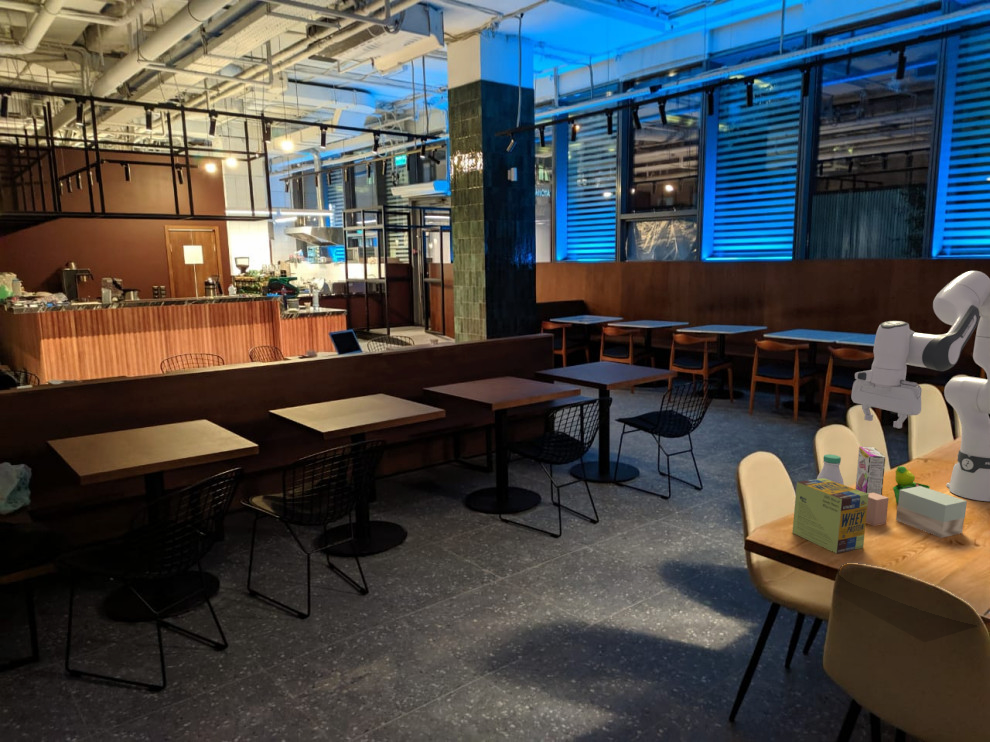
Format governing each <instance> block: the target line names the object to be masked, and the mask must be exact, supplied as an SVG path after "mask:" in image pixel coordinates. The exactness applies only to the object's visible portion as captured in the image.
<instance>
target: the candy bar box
mask: <svg viewBox="0 0 990 742" xmlns="http://www.w3.org/2000/svg"><path fill="white" fill-rule="evenodd" d="M857 458H858V459H857V468H856V469H857V470H856V481H855V489H856V490H859V491H862V492H865V493H873V492H874V493H877V494H879V495H882V496H883V486H884V478H885V477H884V474H885V467H886V465H885V464H886V456H885V455H883V454H882V453H881V452H880V451H879V450H878V449H877V448H876V447H873V446H859V448H858V456H857Z"/></svg>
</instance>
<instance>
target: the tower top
mask: <svg viewBox="0 0 990 742" xmlns="http://www.w3.org/2000/svg"><path fill="white" fill-rule="evenodd" d="M967 503H968V502H967V500H965V499H962V498H958V497H955V496H952V495H949V494H947V493H943V492H940V491H937V490H935V489H931V488H929V489H928V488H925V487H922V486H917V487H912V488H907V489H901V490H900V492H899V501H898V503H897V506H900V507H903V508H906V509H908V510H911V511H914V512H917V513H919V514H922V515H925V516H928V517H930V518H933V519H936V520H939V521H941V522H947V521H952V520H957V519H961V518H964V519H965V518H966V511H967Z"/></svg>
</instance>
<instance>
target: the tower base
mask: <svg viewBox="0 0 990 742" xmlns="http://www.w3.org/2000/svg"><path fill="white" fill-rule="evenodd" d="M896 507H897V508H896V514H895V515H896V516H895V521H896V520H897V521H896V522H898V523H899V522H900V523H901V522H902V524H904V523H905V525H906V524H907V526H909V525H910V526H909V527H912V526H913V527H912V528H914V527H915V528H914V529H917V528H918V529H917V530H919V529H920V531H922V530H924V531H923V532H925V531H926V532H925V533H927V532H928V533H927V534H930V533H931V535H932V534H933V536H935V537H937V536H938V538H940V539H943V538H947V537H951V536H955V535H960V533H961V534H963V530H964V524H965V521H964V520H965V518H961V519H957V520H952V521H947V522H941V521H939V520H936V519H933V518H930V517H928V516H925V515H922V514H919V513H917V512H914V511H911V510H908V509H906V508H903V507H900V506H898V505H897V506H896Z"/></svg>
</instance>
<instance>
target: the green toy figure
mask: <svg viewBox="0 0 990 742" xmlns="http://www.w3.org/2000/svg"><path fill="white" fill-rule="evenodd" d="M894 480H895V482H896V483H897V485H895V486H892V491H893V493H894V497H895V502H896V504H898V501H899V492H900V490H901V489H907V488H912V487H917V486H922V487H925V488H928V489H931V488H930V485H928V484H927V485H926V484H923V483H918V482H916V481H915V480H916V477H915V474H913V473H912V472H911V471H910V470H908V468H907V467H906V466H904V465H902V466H900V465H899V466H897V468H896V470H895V479H894Z"/></svg>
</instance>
